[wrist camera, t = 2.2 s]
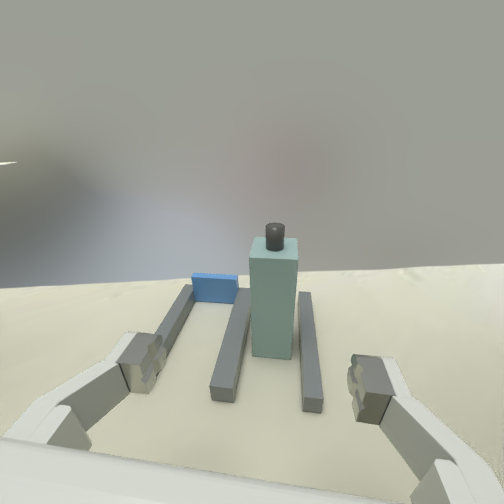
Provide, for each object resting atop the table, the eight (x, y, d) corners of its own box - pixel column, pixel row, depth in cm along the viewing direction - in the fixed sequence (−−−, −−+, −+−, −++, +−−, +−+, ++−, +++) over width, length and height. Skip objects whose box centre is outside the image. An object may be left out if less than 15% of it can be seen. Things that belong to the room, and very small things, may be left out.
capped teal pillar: (290, 330, 29) (298, 218, 22) (290, 359, 26) (300, 237, 19) (256, 328, 30) (254, 217, 23) (252, 356, 26) (248, 235, 19)
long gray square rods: (309, 304, 33) (312, 279, 31) (320, 413, 21) (326, 383, 19) (187, 295, 35) (183, 272, 33) (133, 390, 23) (121, 361, 21)
